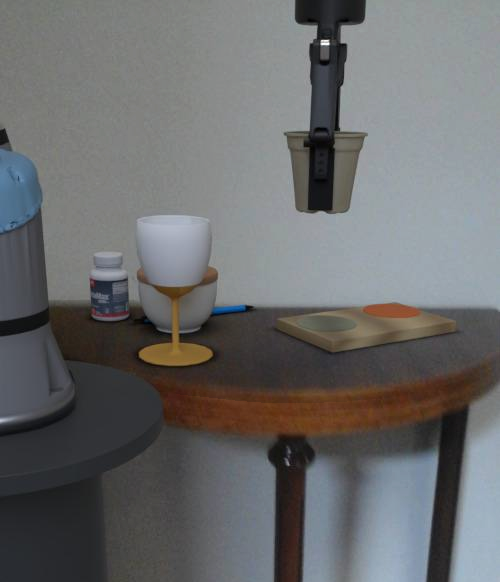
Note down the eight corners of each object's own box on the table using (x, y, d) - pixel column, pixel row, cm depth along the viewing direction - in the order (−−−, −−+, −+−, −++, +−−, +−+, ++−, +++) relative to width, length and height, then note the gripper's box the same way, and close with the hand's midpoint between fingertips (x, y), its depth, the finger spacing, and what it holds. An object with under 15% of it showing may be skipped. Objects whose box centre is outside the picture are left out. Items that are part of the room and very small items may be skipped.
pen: (131, 318, 115) (134, 315, 114) (252, 305, 123) (255, 302, 122) (133, 324, 115) (135, 321, 114) (253, 310, 123) (257, 307, 122)
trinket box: (126, 334, 109) (123, 262, 106) (156, 315, 119) (154, 248, 115) (203, 341, 107) (202, 268, 103) (227, 321, 116) (228, 253, 113)
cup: (123, 359, 99) (117, 221, 93) (164, 341, 107) (161, 212, 100) (189, 370, 96) (187, 228, 89) (226, 351, 103) (227, 218, 97)
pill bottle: (83, 317, 117) (80, 253, 114) (112, 310, 121) (109, 249, 117) (108, 324, 114) (105, 258, 111) (137, 317, 118) (134, 254, 114)
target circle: (388, 320, 112) (388, 319, 112) (351, 308, 119) (351, 307, 119) (432, 313, 116) (432, 313, 116) (394, 302, 123) (394, 301, 123)
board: (332, 352, 103) (332, 340, 103) (276, 329, 113) (276, 317, 112) (455, 331, 113) (456, 320, 113) (394, 311, 123) (395, 301, 123)
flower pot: (302, 204, 102) (305, 129, 99) (375, 209, 98) (379, 131, 95) (268, 213, 95) (269, 132, 91) (344, 219, 91) (348, 135, 87)
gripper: (365, -32, 77) (352, 218, 86) (368, -8, 97) (357, 194, 105) (285, -31, 78) (280, 216, 87) (304, -7, 98) (298, 193, 106)
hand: (322, 204), depth 96 cm, fingers closed on flower pot, 8 cm apart
